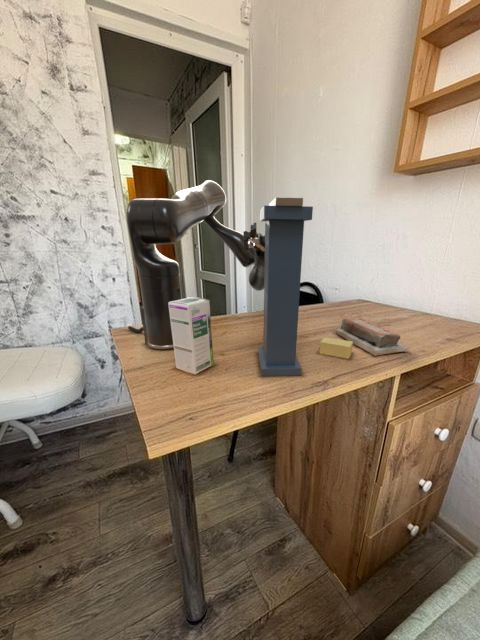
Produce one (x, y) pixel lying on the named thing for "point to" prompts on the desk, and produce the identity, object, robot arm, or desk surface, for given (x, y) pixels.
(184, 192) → the robot arm
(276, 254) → the square pillar stand
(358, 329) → the plastering float
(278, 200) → the brown and white slab
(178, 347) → the syrup box
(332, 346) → the butter block
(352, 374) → the desk surface
